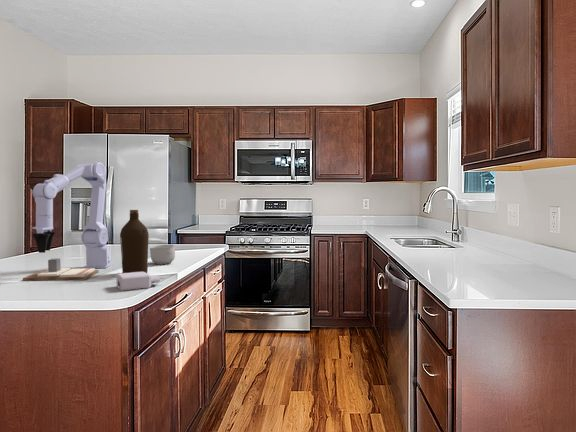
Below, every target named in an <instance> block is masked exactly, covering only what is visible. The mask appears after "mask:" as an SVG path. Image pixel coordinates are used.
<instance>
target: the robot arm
mask: <svg viewBox="0 0 576 432" xmlns="http://www.w3.org/2000/svg"><path fill="white" fill-rule="evenodd" d="M106 177H107V167H106V166H105V165H104V164H103V163H102V162H99V161H97V162H81V163H79V164H76V166H75V167H73V168H72V169H70V170H69V171H67V172H66V173H64V174H60V173H55V174H54V175H53V177H51V178H49V179H45V180H44V182H43V183H37V184H36V185H34V187H33V190H31V194H32V196H33V198H34V202H35V226H32V228H31V230H36V232H35V233H34V232H33V233H32V237H33V238H34V240H35V243H36V247H37V252H38V253H40V254H42V253H46V251H47V252H48V251H51V247H52V242H53V239H54V237H55V235H56V231H52V230H54V198H56V196H57V194H58V193H59V192H61V191H63V190H65V189H66V188H67V187H68V186H69V183H71V182H72V181H75V180H77V179H78V178H82V179H83V180H85V181H86V182H87V183H89V184H90V185H91V195H90V196H91V197H90V207H89V216H88V217H89V218H88V223H87V224H85V225H84V227H83V231H82V234H81V236H80V237H81V242H82V244H84V247H85V261H86V263H85V264H86V265H84V266H83V267H82V269H84V268H95V269H107V268H108V267H110V266H112V264H111V248H110V246H108V245H106V244H107V243H108V241H109V235H108V228H107V226H105V224H104V222H103V221H104V212H105V200H106V191H107V190H106V188H107V180H106Z"/></svg>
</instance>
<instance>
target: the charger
mask: <svg viewBox="0 0 576 432" xmlns="http://www.w3.org/2000/svg"><path fill="white" fill-rule="evenodd" d="M115 278H116V279H115V280H116V287H117V289H119V290H120V289H121V290H120V291H122V292H123V290H125V291H130V290H131V289H134V290H142V289H141V288H144V289H149V288H151V287H152V284H157V283H160V281H161V280H164V279H165V277H163V276H159V275H158V274H154V275H153V274H152V275H150V274H149V273H148V272H147V273H145V272H132V273H122V272H120V273H116V276H115ZM131 291H132V290H131Z"/></svg>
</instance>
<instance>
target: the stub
mask: <svg viewBox="0 0 576 432" xmlns="http://www.w3.org/2000/svg"><path fill="white" fill-rule="evenodd" d="M47 266H48V267H47V268H48V269H47V270H43V271H44V272H42V273H40V274H37V277H43V276H59V274H62V273H63V272H65V271H67V270H70V269H71V267H61V266H62V265H61V258H60V257H59V258H55V257H54V258H50V259H48V260H47Z"/></svg>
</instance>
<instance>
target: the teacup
mask: <svg viewBox="0 0 576 432" xmlns="http://www.w3.org/2000/svg"><path fill="white" fill-rule="evenodd" d="M175 246H176V245H175V244H158V245H152V246H150V247H149V253H150V259H151V261H152V262H153V263H154V264H156V265H168V264H171V263H172V262H173V261H174V260H175V258H176V252H175V251H176V250H175Z"/></svg>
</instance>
